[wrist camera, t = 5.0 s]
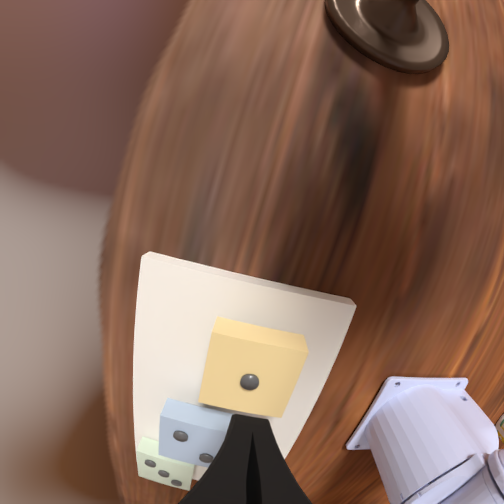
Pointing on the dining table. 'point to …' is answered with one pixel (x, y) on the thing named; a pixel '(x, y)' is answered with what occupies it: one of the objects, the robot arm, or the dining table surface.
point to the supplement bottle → (500, 427)
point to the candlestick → (392, 32)
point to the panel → (199, 333)
